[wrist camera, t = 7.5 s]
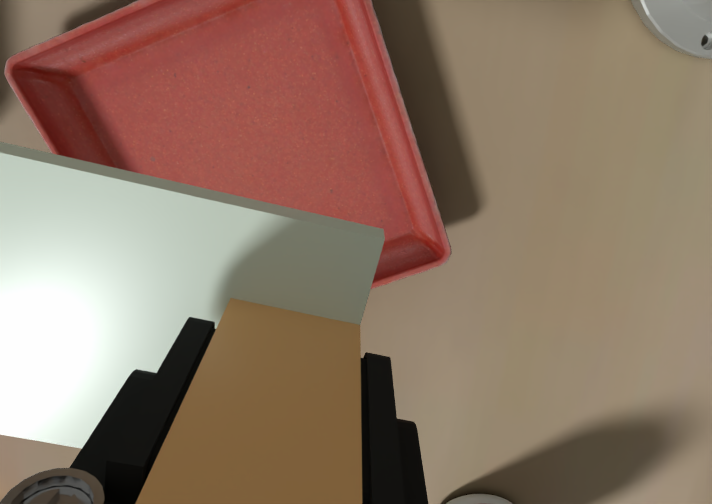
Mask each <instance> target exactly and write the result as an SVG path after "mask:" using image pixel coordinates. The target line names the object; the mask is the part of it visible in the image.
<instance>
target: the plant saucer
mask: <svg viewBox="0 0 712 504" xmlns="http://www.w3.org/2000/svg"><path fill="white" fill-rule="evenodd" d="M4 74H5V77H6V79H7V81H8V83H9V85H10V86H11V88H12V89H13V91H14V93H15V94H16V96H17V98H18V99H19V101H20V103H21V104H22V106H23V107H24V110H25V111H26V113H27V114H28V116H29V117H30V119H31V120H32V122H33V124H34V125H35V127H36V129H37V130H38V132H39V133H40V135H41V137H42V138H43V140H44V141H45V143H46V144H47V146H48V148H49V149H50V151H51V153H52V154H56V155H61V156H65V157H70V158H74V159H78V160H83V161H87V162H91V163H96V164H100V165H105V166H109V167H113V168H118V169H122V170H127V171H131V172H135V173H140V174H144V175H149V176H153V177H157V178H162V179H166V180H171V181H175V182H179V183H184V184H188V185H192V186H197V187H201V188H206V189H210V190H214V191H219V192H223V193H228V194H232V195H236V196H241V197H245V198H250V199H254V200H258V201H263V202H267V203H272V204H276V205H280V206H285V207H289V208H294V209H298V210H302V211H307V212H311V213H315V214H320V215H324V216H329V217H333V218H337V219H342V220H346V221H351V222H355V223H359V224H364V225H368V226H373V227H377V228H381V229H384V237H385V240H384V244H383V247H382V251H381V254H380V258H379V261H378V265H377V268H376V272H375V275H374V279H373V282H372V285H371V289H373V288H376V287H379V286H382V285H386V284H389V283H391V282H394V281H397V280H400V279H403V278H406V277H408V276H412V275H415V274H418V273H422V272H425V271H427V270H430V269H433V268H436V267H439V266H441V265H443V264H445V263H446V262H447V261H448V259H449V257H450V255H451V252H452V251H451V246H450V243H449V240H448V237H447V233H446V230H445V227H444V224H443V221H442V218H441V215H440V212H439V209H438V206H437V203H436V199H435V196H434V193H433V190H432V187H431V184H430V181H429V178H428V174H427V171H426V169H425V166H424V163H423V159H422V156H421V153H420V150H419V147H418V144H417V141H416V137H415V135H414V132H413V129H412V125H411V122H410V118H409V115H408V113H407V110H406V107H405V103H404V100H403V97H402V94H401V91H400V87H399V84H398V81H397V78H396V75H395V73H394V69H393V66H392V62H391V59H390V56H389V53H388V50H387V47H386V44H385V41H384V38H383V35H382V32H381V28H380V24H379V21H378V18H377V15H376V13H375V10H374V7H373V2H372V0H137V1H135V2H133V3H131V4H129V5H127V6H125V7H122V8H120V9H118V10H116V11H114V12H111V13H108V14H106V15H104V16H102V17H100V18H98V19H96V20H93V21H90V22H88V23H85V24H82V25H81V26H79V27H77V28H75V29H72V30H70V31H67V32H65V33H63V34H60V35H58V36H55V37H53V38H51V39H49V40H47V41H45V42H42V43H39V44H37V45H34V46H32V47H30V48H28V49H26V50H24V51H21V52H19V53H17V54H15V55H13V56H11V57H10V58H9V59H7V61H6V64H5V71H4Z"/></svg>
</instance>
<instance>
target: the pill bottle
mask: <svg viewBox="0 0 712 504" xmlns="http://www.w3.org/2000/svg"><path fill="white" fill-rule="evenodd" d="M446 504H513V503H511V502H510V501H508V500H506V499H504V498H501V497H498V496H495V495H489V494H470V495H465V496H461V497H458V498H455V499H453V500H451V501H449V502H447V503H446Z"/></svg>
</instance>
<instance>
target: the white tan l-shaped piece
mask: <svg viewBox="0 0 712 504" xmlns="http://www.w3.org/2000/svg"><path fill="white" fill-rule="evenodd" d="M384 240H385V237H384V229H381V228H377V227H373V226H368V225H364V224H359V223H355V222H351V221H346V220H342V219H337V218H333V217H329V216H324V215H320V214H315V213H311V212H307V211H302V210H298V209H294V208H289V207H285V206H280V205H276V204H272V203H267V202H263V201H258V200H254V199H250V198H245V197H241V196H236V195H232V194H228V193H223V192H219V191H214V190H210V189H206V188H201V187H197V186H192V185H188V184H184V183H179V182H175V181H171V180H166V179H162V178H157V177H153V176H149V175H144V174H140V173H135V172H131V171H127V170H122V169H118V168H113V167H109V166H105V165H100V164H96V163H91V162H87V161H83V160H78V159H74V158H70V157H65V156H61V155H56V154H52V153H48V152H43V151H39V150H34V149H30V148H26V147H21V146H17V145H12V144H8V143H4V142H0V434H2V435H7V436H13V437H19V438H25V439H30V440H36V441H42V442H48V443H53V444H59V445H65V446H71V447H76V448H83V446H84V445H85V443H86V442H87V440H88V439H89V437H90V435H91V434H92V432H93V431H94V429H95V428H96V426H97V425H98V423H99V422H100V420H101V419H102V417H103V415H104V414H105V412H106V411H107V409H108V408H109V406H110V405H111V403H112V402H113V400H114V398H115V397H116V395H117V394H118V392H119V391H120V389H121V388H122V386H123V385H124V383H125V382H126V380H127V378H128V377H129V375H130V374H131V373H132V372H133V371H134V370H136V369H138V370H143V371H149V372H154V373H157V371H158V369H159V368H160V366H161V364H162V362H163V361H164V359H165V357H166V356H167V354H168V352H169V350H170V349H171V347H172V345H173V343H174V342H175V340H176V338H177V336H178V335H179V333H180V331H181V329H182V328H183V326H184V324H185V322H186V321H187V319H188V318H189V317H193V318H198V319H203V320H208V321H213V322H215V329H216V330H215V333H214V335H213V337H212V339H211V341H210V343H209V346H208V348H207V350H206V352H205V354H204V356H203V359H202V361H201V363H200V365H199V367H198V369H197V372H196V374H195V376H194V378H193V380H192V382H191V385H190V387H189V389H188V391H187V393H186V395H185V397H184V400H183V402H182V404H181V406H180V408H179V410H178V413H177V415H176V417H175V419H174V421H173V423H172V426H171V428H170V430H169V432H168V434H167V436H166V439H165V441H164V443H163V445H162V447H161V449H160V451H159V454H158V456H157V458H156V460H155V462H154V464H153V467H152V469H151V471H150V473H149V475H148V477H147V480H146V482H145V484H144V486H143V488H142V490H141V493H140V495H139V497H138V499H137V501H136V503H135V504H362V435H361V355H360V324H361V320H362V317H363V313H364V310H365V306H366V303H367V299H368V296H369V292H370V289H371V285H372V282H373V279H374V275H375V272H376V268H377V265H378V261H379V258H380V254H381V251H382V247H383V244H384Z"/></svg>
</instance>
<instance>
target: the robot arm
mask: <svg viewBox="0 0 712 504" xmlns="http://www.w3.org/2000/svg"><path fill="white" fill-rule="evenodd" d="M632 3H633V6H634V8H635V10H636V11H637V13H638V15H639V16H640V18H641V20H642V21H643V23H644V25H645V26H646V27H647V28H648V29H649V30H650V31H651V32H652V33H653V34H654V35H655V36H656V37H657V38H658V39H659V40H660V41H662V42H663V43H665V44H666V45H668V46H670V47H671V48H673V49H674V50H676V51H678V52H682V53H685V54H688V55H691V56H694V57H697V58H707V59H712V0H632ZM702 38H703V41H702ZM701 41H702V43H701ZM215 330H216V329H215V322H213V321H208V320H203V319H198V318H193V317H189V318H188V319H187V321H186V322H185V324H184V326H183V328H182V329H181V331H180V333H179V335H178V336H177V338H176V340H175V342H174V343H173V345H172V347H171V349H170V350H169V352H168V354H167V356H166V357H165V359H164V361H163V362H162V364H161V366H160V368H159V369H158V371H157V373H154V372H149V371H143V370H138V369H136V370H134V371H133V372H132V373H131V374H130V375H129V377H128V378H127V380H126V382H125V383H124V385H123V386H122V388H121V389H120V391H119V392H118V394H117V395H116V397H115V398H114V400H113V402H112V403H111V405H110V406H109V408H108V409H107V411H106V412H105V414H104V415H103V417H102V419H101V420H100V422H99V423H98V425H97V426H96V428H95V429H94V431H93V432H92V434H91V435H90V437H89V439H88V440H87V442H86V443H85V445H84V446H83V448H82V449H81V451H80V452H79V454H78V456H77V457H76V459H75V460H74V462H73V463H72V465H71V466H70V468H55V469H51V470H47V471H43V472H39V473H37V474H35V475H33V476H31V477H29V478H27V479H24V480H23V481H22V482H20V483H19V484H18V485H16V486H15V487H13V488H12V489H11V490H10V491H9V492H8V493H7V494H6V496H5V497H4V498H3V499H2V500H1V502H0V504H135V503H136V501H137V499H138V497H139V495H140V493H141V490H142V488H143V486H144V484H145V482H146V480H147V477H148V475H149V473H150V471H151V469H152V467H153V464H154V462H155V460H156V458H157V456H158V454H159V451H160V449H161V447H162V445H163V443H164V441H165V439H166V436H167V434H168V432H169V430H170V428H171V426H172V423H173V421H174V419H175V417H176V415H177V413H178V410H179V408H180V406H181V404H182V402H183V400H184V397H185V395H186V393H187V391H188V389H189V387H190V385H191V382H192V380H193V378H194V376H195V374H196V372H197V369H198V367H199V365H200V363H201V361H202V359H203V356H204V354H205V352H206V350H207V348H208V346H209V343H210V341H211V339H212V337H213V335H214V333H215ZM361 435H362V504H428V499H427V492H426V486H425V479H424V472H423V466H422V459H421V452H420V446H419V439H418V433H417V428H416V424H415V423H414V422H412V421H406V420H401V419H397V417H396V407H395V398H394V388H393V378H392V369H391V360H390V357H386V356H381V355H377V354H372V353H367V352H366V353H365V355H364V358H361Z"/></svg>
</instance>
